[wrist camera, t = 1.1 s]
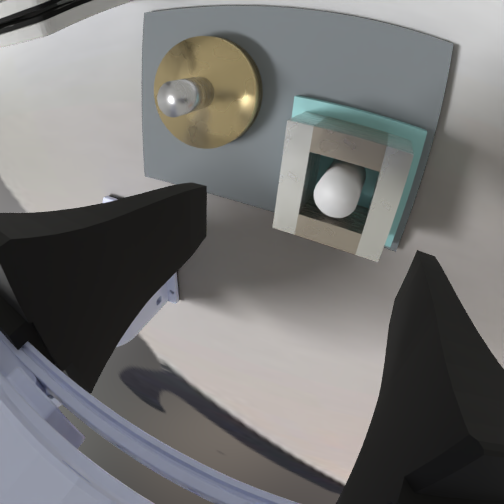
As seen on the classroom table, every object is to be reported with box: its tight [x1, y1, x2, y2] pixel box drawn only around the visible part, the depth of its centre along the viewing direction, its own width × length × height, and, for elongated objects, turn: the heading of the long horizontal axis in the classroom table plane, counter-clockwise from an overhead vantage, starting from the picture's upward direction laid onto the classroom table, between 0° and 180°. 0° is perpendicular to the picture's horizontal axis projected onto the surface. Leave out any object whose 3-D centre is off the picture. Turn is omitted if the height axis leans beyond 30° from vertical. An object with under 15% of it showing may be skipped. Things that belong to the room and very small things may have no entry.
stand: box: [292, 95, 427, 247], centre depth 15 cm, size 7×7×4 cm
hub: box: [154, 36, 263, 149], centre depth 16 cm, size 7×7×4 cm
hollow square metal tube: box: [272, 111, 414, 262], centre depth 15 cm, size 6×6×3 cm
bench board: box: [142, 6, 453, 252], centre depth 17 cm, size 12×18×1 cm
